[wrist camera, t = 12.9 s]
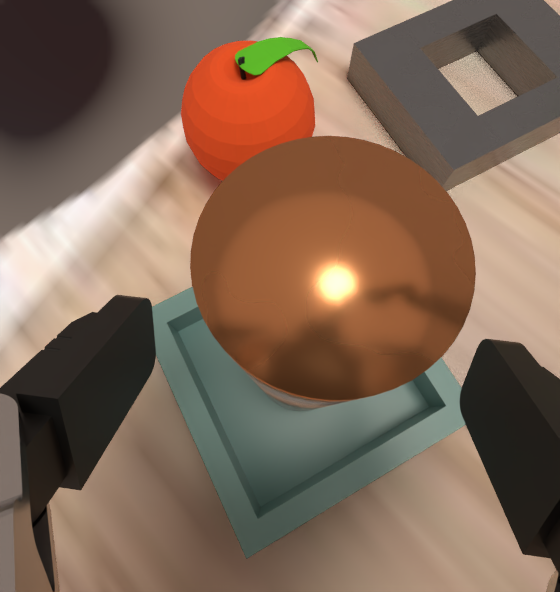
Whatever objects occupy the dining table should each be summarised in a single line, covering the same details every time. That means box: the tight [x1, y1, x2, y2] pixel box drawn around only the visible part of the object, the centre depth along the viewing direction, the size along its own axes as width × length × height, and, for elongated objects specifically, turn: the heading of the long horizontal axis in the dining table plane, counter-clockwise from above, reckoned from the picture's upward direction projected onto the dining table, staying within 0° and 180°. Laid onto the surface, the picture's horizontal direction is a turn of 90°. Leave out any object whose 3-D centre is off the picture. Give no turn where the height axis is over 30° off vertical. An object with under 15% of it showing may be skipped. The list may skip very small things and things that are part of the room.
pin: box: [190, 136, 476, 411], centre depth 12 cm, size 4×4×14 cm
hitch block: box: [347, 0, 560, 191], centre depth 24 cm, size 12×10×2 cm
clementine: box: [181, 37, 318, 181], centre depth 20 cm, size 8×7×7 cm
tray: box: [152, 287, 466, 559], centre depth 18 cm, size 11×11×3 cm
